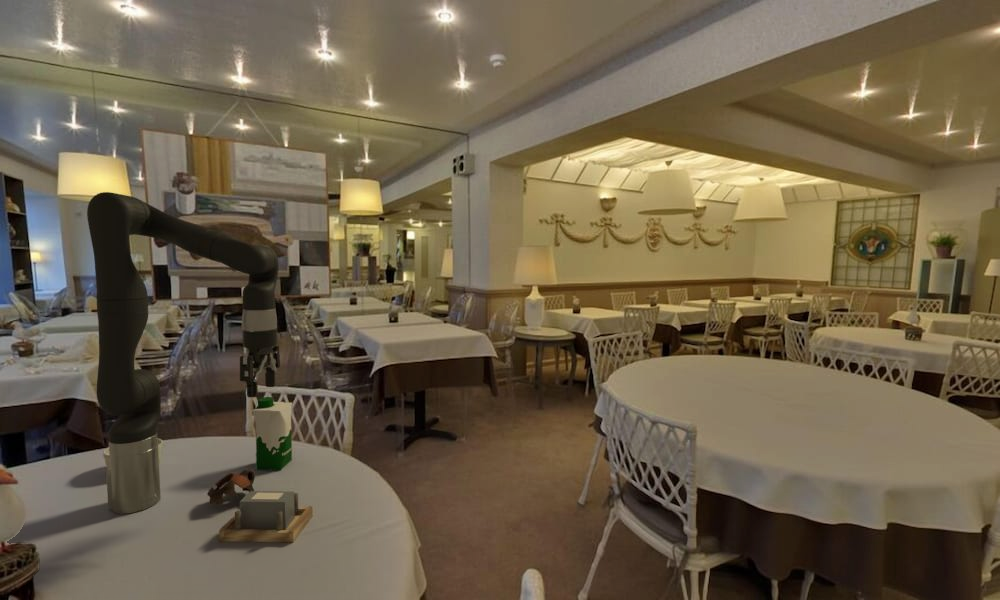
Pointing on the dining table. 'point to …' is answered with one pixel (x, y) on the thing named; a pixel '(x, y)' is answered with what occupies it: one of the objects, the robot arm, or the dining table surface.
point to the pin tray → (236, 533)
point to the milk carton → (273, 434)
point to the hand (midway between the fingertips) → (261, 391)
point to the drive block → (266, 509)
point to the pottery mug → (232, 485)
